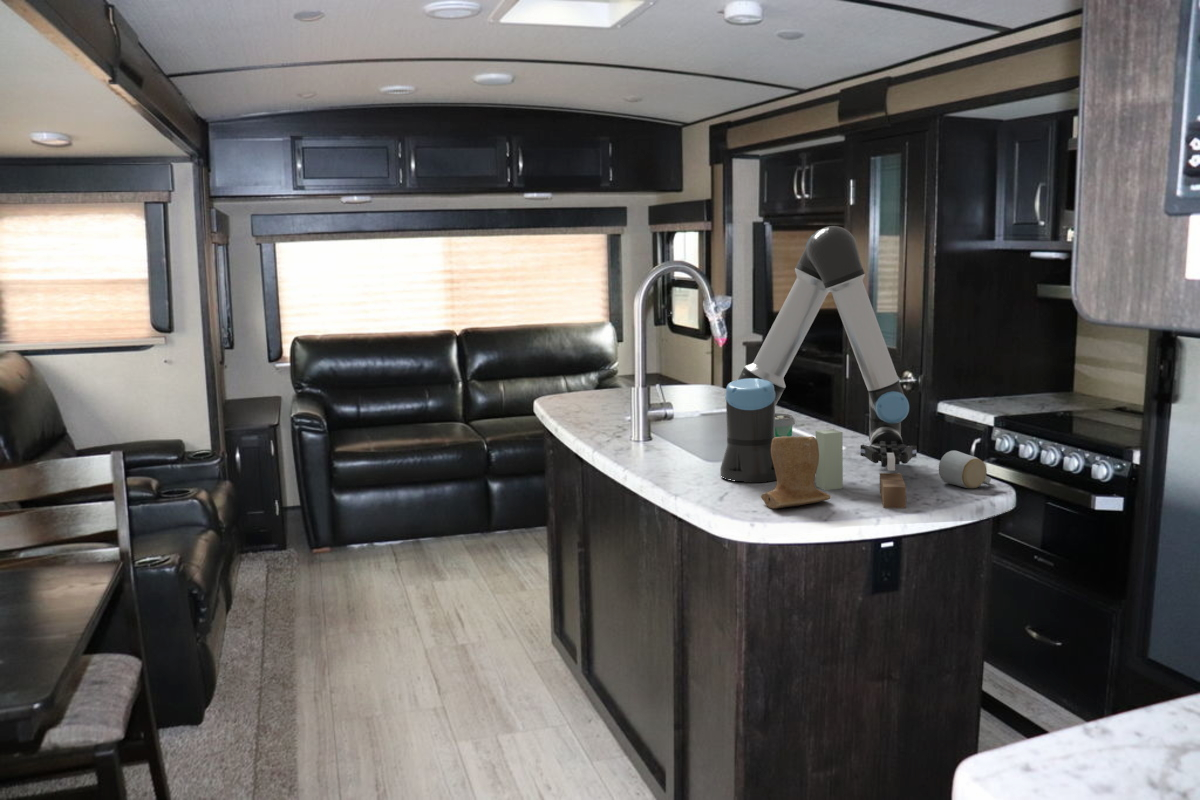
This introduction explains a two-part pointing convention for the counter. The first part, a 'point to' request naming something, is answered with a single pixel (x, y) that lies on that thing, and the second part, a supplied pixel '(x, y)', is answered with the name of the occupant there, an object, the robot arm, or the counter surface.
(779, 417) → the food container
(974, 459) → the ceramic mug
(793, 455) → the cork flared stand
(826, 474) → the sage block
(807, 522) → the counter surface
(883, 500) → the walnut block
